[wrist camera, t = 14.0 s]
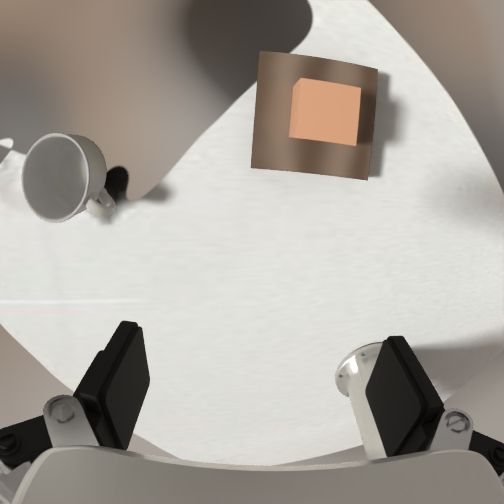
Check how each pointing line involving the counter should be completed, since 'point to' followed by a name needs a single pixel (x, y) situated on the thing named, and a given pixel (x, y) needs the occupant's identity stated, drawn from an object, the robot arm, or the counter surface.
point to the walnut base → (279, 115)
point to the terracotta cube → (325, 111)
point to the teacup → (65, 178)
